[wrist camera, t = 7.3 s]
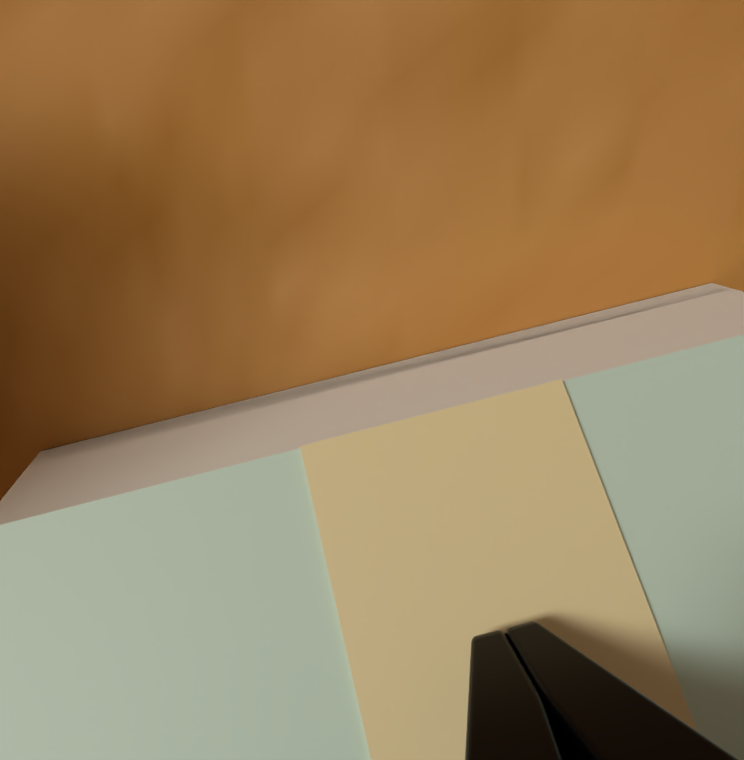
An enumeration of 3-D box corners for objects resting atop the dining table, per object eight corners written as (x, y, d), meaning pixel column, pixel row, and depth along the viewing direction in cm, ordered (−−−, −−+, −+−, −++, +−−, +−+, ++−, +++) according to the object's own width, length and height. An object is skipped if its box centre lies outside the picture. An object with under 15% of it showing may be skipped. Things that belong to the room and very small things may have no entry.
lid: (894, 310, 12) (932, 284, 11) (1225, 865, 9) (1313, 886, 8) (-77, 560, 11) (-117, 552, 10) (-63, 1273, 8) (-118, 1346, 7)
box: (711, 283, 17) (884, 331, 12) (730, 566, 19) (878, 698, 15) (40, 451, 16) (-60, 575, 11) (151, 726, 18) (109, 923, 14)
